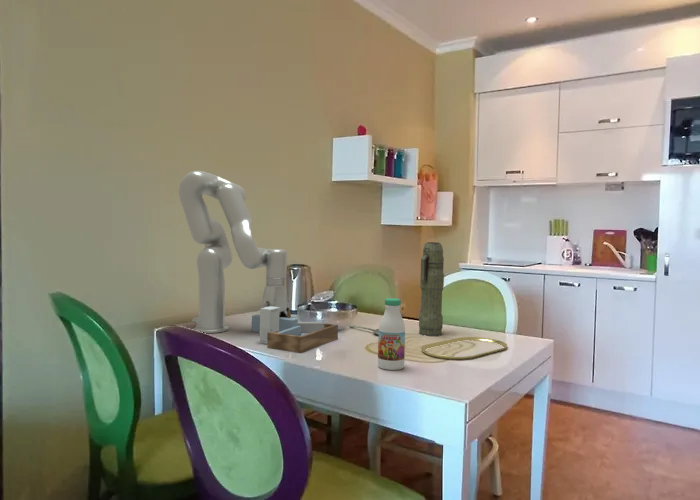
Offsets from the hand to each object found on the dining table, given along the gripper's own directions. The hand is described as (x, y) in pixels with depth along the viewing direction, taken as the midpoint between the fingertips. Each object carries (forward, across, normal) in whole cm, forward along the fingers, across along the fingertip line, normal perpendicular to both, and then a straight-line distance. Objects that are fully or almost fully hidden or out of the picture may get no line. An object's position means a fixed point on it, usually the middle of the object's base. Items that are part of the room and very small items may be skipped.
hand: (275, 327), depth 195 cm
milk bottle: (+2, +20, +55) cm, 59 cm away
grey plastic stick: (+2, -8, +11) cm, 14 cm away
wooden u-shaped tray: (+2, +8, +17) cm, 19 cm away
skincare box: (+2, +13, +7) cm, 15 cm away
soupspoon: (+2, -21, +29) cm, 36 cm away
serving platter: (+2, -14, +68) cm, 70 cm away
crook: (+2, +8, +1) cm, 8 cm away
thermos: (+2, -31, +50) cm, 59 cm away
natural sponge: (+2, -12, -7) cm, 14 cm away
